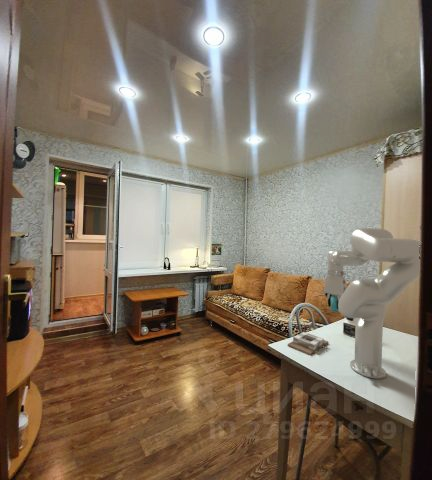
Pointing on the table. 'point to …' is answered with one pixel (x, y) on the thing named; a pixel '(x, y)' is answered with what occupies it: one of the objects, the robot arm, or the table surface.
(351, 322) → the medicine bottle
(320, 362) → the table surface
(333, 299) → the peg
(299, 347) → the socket board
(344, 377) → the table surface
